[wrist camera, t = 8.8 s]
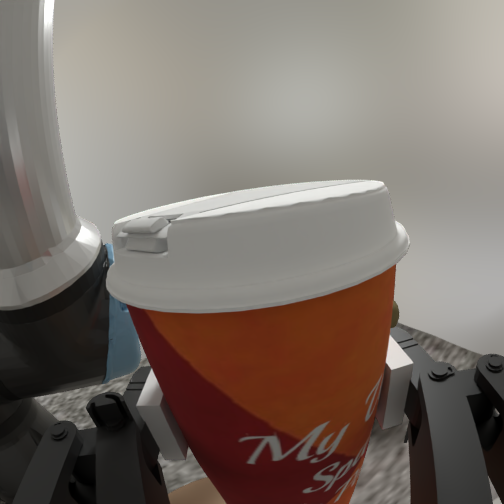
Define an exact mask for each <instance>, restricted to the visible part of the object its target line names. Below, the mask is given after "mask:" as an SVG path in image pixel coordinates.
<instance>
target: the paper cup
mask: <svg viewBox="0 0 504 504" xmlns="http://www.w3.org/2000/svg"><path fill="white" fill-rule="evenodd" d="M112 240H113V253H114V263H113V264H112V265H111V266H110V268H109V270H108V272H107V278H106V288H107V290H108V291H109V293H110V294H111V296H113V297H114V298H116V299H117V300H119V301H121V302H122V303H125V304H126V305H127V308H128V311H129V313H130V316H131V319H132V321H133V324H134V327H135V329H136V332H137V334H138V337H139V339H140V342H141V344H142V347H143V349H144V352H145V354H146V356H147V359H148V361H149V363H150V366H151V368H152V370H153V372H154V375H155V377H156V379H157V381H158V383H159V386H160V388H161V390H162V392H163V394H164V397H165V399H166V401H167V403H168V405H169V407H170V410H171V412H172V414H173V416H174V418H175V420H176V422H177V424H178V426H179V428H180V430H181V432H182V434H183V436H184V438H185V440H186V441H187V443H188V445H189V447H190V449H191V451H192V453H193V455H194V456H195V458H196V460H197V461H198V463H199V464H200V466H201V467H202V469H203V470H204V472H205V473H206V475H207V476H208V478H209V479H210V481H211V482H212V484H213V485H214V486H215V488H216V489H217V491H218V492H219V493H220V495H221V496H222V498H223V499H224V501H225V502H226V504H349V502H350V499H351V497H352V494H353V492H354V489H355V486H356V483H357V480H358V477H359V474H360V471H361V468H362V464H363V461H364V458H365V454H366V451H367V447H368V444H369V440H370V436H371V432H372V428H373V424H374V420H375V415H376V411H377V406H378V402H379V397H380V392H381V386H382V381H383V376H384V370H385V364H386V357H387V351H388V344H389V336H390V328H391V320H392V310H393V300H394V287H395V272H396V264H397V263H398V262H399V261H400V260H401V259H402V258H403V256H405V255H406V253H407V251H408V249H409V246H410V242H409V236H408V234H407V233H406V230H405V228H404V227H403V226H402V225H401V224H400V223H399V222H397V221H395V218H394V213H393V207H392V203H391V198H390V194H389V191H388V189H387V187H386V186H384V183H383V182H381V181H373V180H372V181H371V180H335V181H334V180H333V181H318V182H306V183H295V184H286V185H276V186H268V187H261V188H254V189H247V190H240V191H234V192H229V193H223V194H217V195H211V196H206V197H202V198H196V199H191V200H187V201H182V202H177V203H173V204H169V205H164V206H160V207H157V208H153V209H149V210H146V211H142V212H139V213H136V214H132V215H129V216H127V217H124V218H121V219H119V220H117V221H116V222H115V223H114V226H113V228H112Z"/></svg>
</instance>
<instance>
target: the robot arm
mask: <svg viewBox="0 0 504 504" xmlns="http://www.w3.org/2000/svg"><path fill="white" fill-rule="evenodd" d="M53 11H54V0H0V499H1V500H3V501H4V502H6V503H8V504H170V501H169V497H168V493H167V489H166V485H165V481H164V477H163V472H162V468H161V466H160V464H159V462H158V461H157V459H158V455H159V451H160V452H161V454H162V456H163V458H164V459H165V460H186V456H187V450H188V443H187V441H186V440H185V438H184V436H183V434H182V432H181V430H180V428H179V426H178V424H177V422H176V420H175V418H174V416H173V414H172V412H171V410H170V407H169V405H168V403H167V401H166V399H165V397H164V394H163V392H162V390H161V388H160V386H159V383H158V381H157V379H156V377H155V375H154V372H153V370H152V368H151V366H147V367H141V368H140V369H138V370H137V371H136V372H135V373H134V374H133V376H132V378H131V380H130V382H129V383H130V384H128V386H127V388H126V391H125V392H124V395H123V396H122V395H120V394H119V393H116V392H105V393H102V394H99V395H97V396H95V397H94V398H92V399H91V400H90V401H89V402H88V404H87V406H86V409H87V411H88V413H89V415H90V416H91V418H92V420H93V422H94V423H95V425H96V427H95V428H91V429H84V430H78V429H77V427H76V426H75V424H73V423H72V422H70V421H59V420H57V419H56V418H55V417H54V416H53V415H52V414H51V413H49V412H48V411H47V410H46V409H45V408H44V407H43V406H42V405H41V404H40V403H38V402H37V401H36V400H35V399H34V398H33V397H38V396H44V395H49V394H55V393H60V392H65V391H70V390H75V389H80V388H84V387H89V386H93V385H98V384H106V383H108V382H109V381H110V380H112V379H115V378H118V377H121V376H124V375H127V374H130V373H132V372H133V371H135V370H136V369H137V367H138V366H139V363H140V360H141V351H140V344H139V337H138V334H137V332H136V329H135V327H134V324H133V321H132V319H131V316H130V313H129V311H128V308H127V305H126V304H125V303H122V302H121V301H119V300H117V299H116V298H114V297H113V296H111V294H110V293H109V291H108V290H107V288H106V278H107V272H108V270H109V268H110V266H111V265H112V264H113V263H114V253H113V244H108V243H107V244H105V245H103V243H102V240H101V236H100V233H99V230H98V228H97V227H96V226H95V225H94V224H93V223H92V222H90V221H88V220H86V219H84V218H81V217H79V216H77V215H76V214H75V210H74V207H73V202H72V198H71V193H70V189H69V184H68V180H67V174H66V169H65V164H64V158H63V153H62V146H61V140H60V133H59V126H58V118H57V109H56V99H55V87H54V70H53V13H54V12H53ZM495 408H496V409H497V411H498V412H499V413H500V414H499V415H498V414H497V413H496V411H495ZM404 413H405V414H406V415H407V417H408V419H409V424H408V428H407V432H406V435H405V439H404V443H407V440H408V442H409V457H410V485H411V504H493V502H492V495H491V489H490V484H489V479H488V476H489V478H490V480H491V482H492V484H493V486H494V488H495V490H496V492H497V494H498V496H499V498H500V500H501V502H502V504H504V357H503V356H500V355H497V354H488V355H484V356H482V357H481V358H480V359H479V360H478V362H477V365H476V368H475V369H468V370H461V371H457V370H456V369H455V367H454V366H452V365H450V364H449V363H445V362H435V361H434V360H433V359H432V358H431V357H430V356H429V355H428V353H427V352H426V351H425V350H424V349H423V348H422V347H421V346H420V345H418V343H417V342H416V341H415V340H414V339H413V338H412V337H411V335H410V334H409V333H408V332H407V331H405V330H403V329H400V328H398V327H394V328H390V336H389V344H388V351H387V357H386V364H385V370H384V376H383V381H382V386H381V392H380V397H379V402H378V406H377V411H376V415H375V417H376V419H377V420H378V422H379V424H380V426H381V428H382V430H384V429H387V428H390V427H393V426H396V425H399V424H402V421H403V417H404Z"/></svg>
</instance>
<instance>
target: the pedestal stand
mask: <svg viewBox="0 0 504 504" xmlns="http://www.w3.org/2000/svg"><path fill="white" fill-rule="evenodd" d="M168 497H169V501H170V504H226V502H225V501H224V499H223V498H222V496H221V495H220V493H219V492H218V491H217V489H216V488H215V486H214V485H213V484H212V482H211V481H210V479H209V478H208V477H207V478H203V479H200V480H197V481H194V482H191V483H189V484H187V485H185V486H182V487H180V488H178V489H177V490H175V491H173V492H171V493H169V494H168Z"/></svg>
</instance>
